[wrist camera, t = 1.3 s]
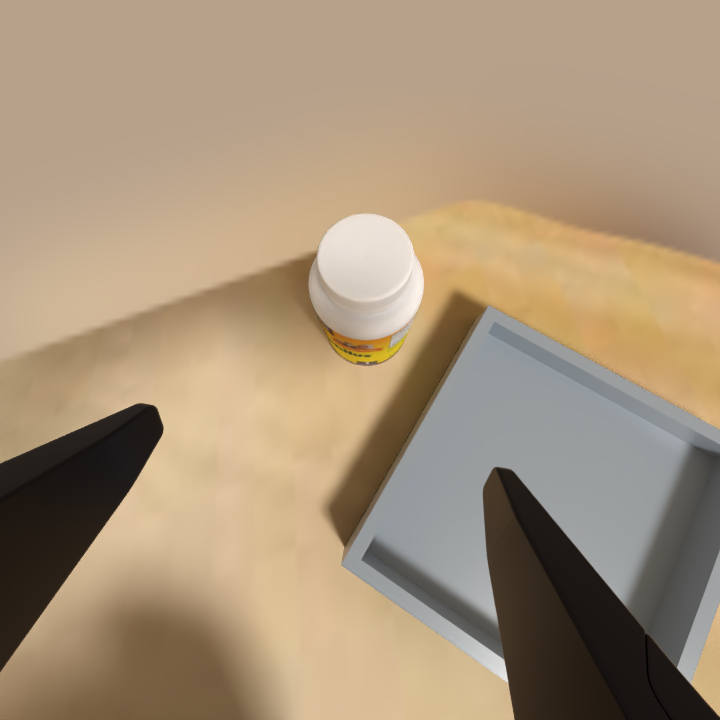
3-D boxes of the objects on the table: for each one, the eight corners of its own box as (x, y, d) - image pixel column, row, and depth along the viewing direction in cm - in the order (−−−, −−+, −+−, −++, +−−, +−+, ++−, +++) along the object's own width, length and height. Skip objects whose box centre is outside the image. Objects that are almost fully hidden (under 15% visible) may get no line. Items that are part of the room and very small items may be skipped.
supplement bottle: (312, 334, 23) (266, 261, 13) (362, 280, 23) (358, 170, 13) (370, 385, 22) (372, 349, 12) (421, 326, 23) (464, 247, 13)
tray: (613, 735, 17) (654, 786, 15) (344, 547, 20) (340, 565, 17) (722, 453, 20) (770, 457, 18) (475, 318, 22) (488, 305, 20)
